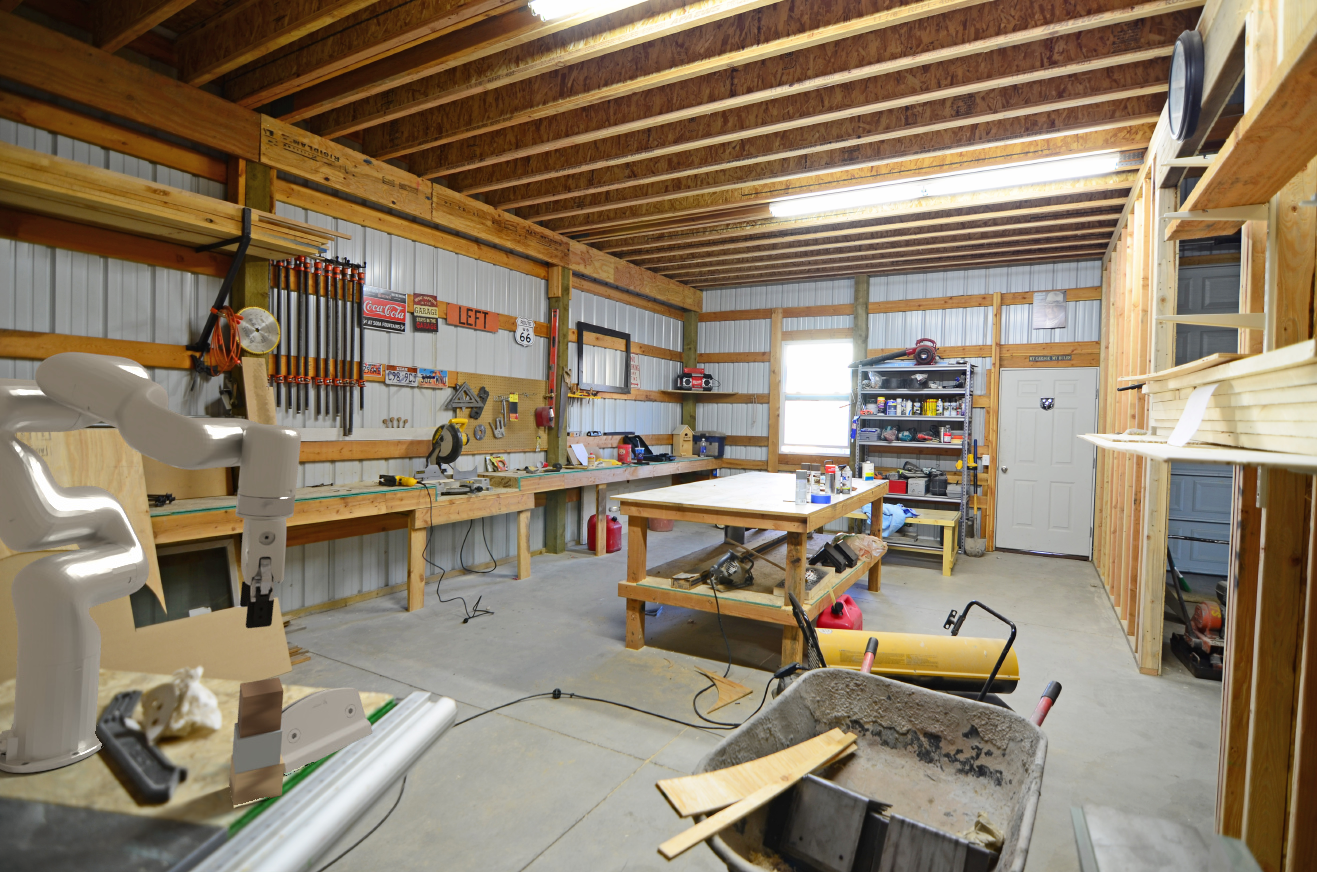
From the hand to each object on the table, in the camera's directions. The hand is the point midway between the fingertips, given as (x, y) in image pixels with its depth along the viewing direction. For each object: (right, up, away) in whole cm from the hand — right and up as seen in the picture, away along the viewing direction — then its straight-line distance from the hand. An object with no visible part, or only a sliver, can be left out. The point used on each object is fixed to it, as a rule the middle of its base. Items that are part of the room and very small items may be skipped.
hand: (255, 615), depth 95 cm
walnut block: (+2, -16, -2) cm, 16 cm away
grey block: (+2, -21, -2) cm, 21 cm away
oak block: (+1, -26, -2) cm, 26 cm away
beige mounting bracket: (+4, -26, +11) cm, 28 cm away
